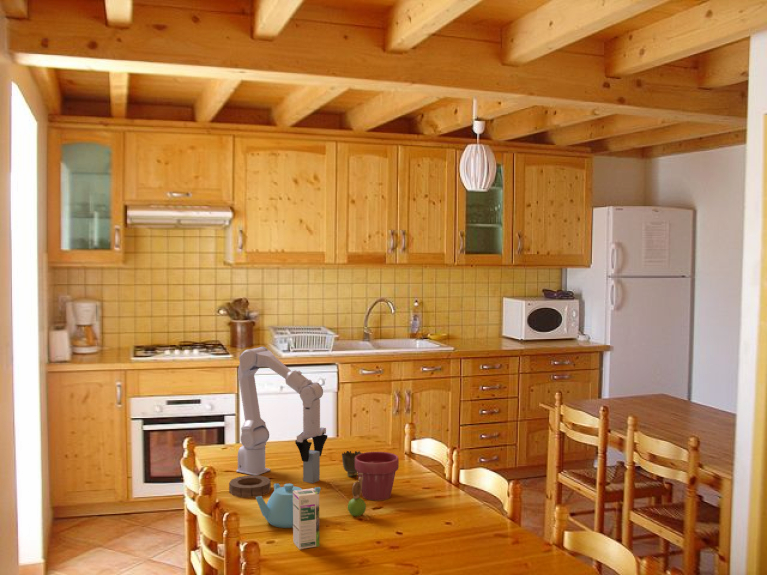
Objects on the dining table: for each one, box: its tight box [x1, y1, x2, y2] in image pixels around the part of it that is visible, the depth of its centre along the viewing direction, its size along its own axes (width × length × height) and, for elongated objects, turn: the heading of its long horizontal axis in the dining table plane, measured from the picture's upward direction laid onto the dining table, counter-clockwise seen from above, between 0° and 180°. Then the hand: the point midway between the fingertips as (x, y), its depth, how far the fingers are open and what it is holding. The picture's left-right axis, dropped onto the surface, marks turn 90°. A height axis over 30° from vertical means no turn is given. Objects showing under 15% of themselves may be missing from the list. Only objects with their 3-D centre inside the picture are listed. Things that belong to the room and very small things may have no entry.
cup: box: [341, 450, 362, 478], centre depth 264 cm, size 8×7×8 cm
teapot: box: [255, 483, 321, 529], centre depth 220 cm, size 15×15×11 cm
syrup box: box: [292, 487, 320, 550], centre depth 202 cm, size 6×6×14 cm
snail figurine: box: [347, 473, 367, 517], centre depth 225 cm, size 5×6×12 cm
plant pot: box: [355, 451, 400, 501], centre depth 242 cm, size 14×14×13 cm
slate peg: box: [302, 449, 321, 484], centre depth 258 cm, size 4×4×10 cm
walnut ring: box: [228, 475, 272, 498], centre depth 247 cm, size 13×13×3 cm
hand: (311, 458), depth 258 cm, fingers open, 7 cm apart
